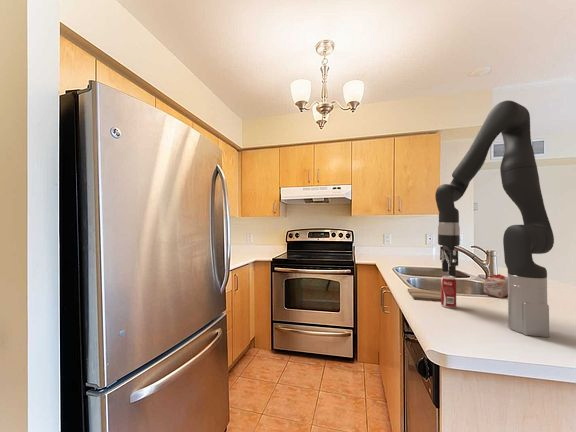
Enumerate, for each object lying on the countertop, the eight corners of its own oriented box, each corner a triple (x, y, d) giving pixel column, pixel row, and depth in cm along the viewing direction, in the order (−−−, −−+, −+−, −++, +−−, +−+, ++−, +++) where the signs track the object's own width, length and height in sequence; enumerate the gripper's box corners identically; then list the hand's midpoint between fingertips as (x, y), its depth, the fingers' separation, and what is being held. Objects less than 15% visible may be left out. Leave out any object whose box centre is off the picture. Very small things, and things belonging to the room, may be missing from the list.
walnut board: (452, 302, 111) (452, 299, 111) (414, 299, 115) (414, 296, 115) (441, 293, 126) (441, 290, 126) (407, 290, 130) (407, 288, 130)
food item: (503, 299, 116) (503, 277, 116) (482, 295, 122) (481, 274, 123) (513, 295, 124) (512, 274, 124) (492, 291, 130) (492, 271, 131)
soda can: (442, 303, 110) (442, 274, 110) (457, 306, 106) (456, 276, 107) (440, 306, 106) (439, 276, 106) (455, 309, 102) (455, 278, 103)
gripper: (466, 235, 99) (466, 278, 99) (453, 232, 113) (452, 270, 113) (443, 234, 101) (443, 276, 101) (433, 232, 115) (433, 269, 114)
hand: (448, 273), depth 107 cm, fingers open, 8 cm apart
